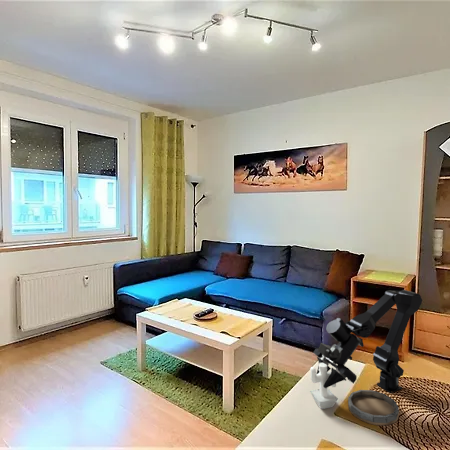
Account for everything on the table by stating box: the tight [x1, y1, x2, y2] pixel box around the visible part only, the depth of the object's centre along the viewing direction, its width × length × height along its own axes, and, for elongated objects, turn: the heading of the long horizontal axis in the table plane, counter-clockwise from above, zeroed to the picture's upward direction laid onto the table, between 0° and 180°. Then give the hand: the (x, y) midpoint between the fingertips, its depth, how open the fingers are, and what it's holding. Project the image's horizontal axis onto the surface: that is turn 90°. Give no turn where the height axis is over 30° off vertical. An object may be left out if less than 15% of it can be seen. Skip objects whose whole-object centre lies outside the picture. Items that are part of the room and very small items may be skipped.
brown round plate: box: [348, 396, 400, 426], centre depth 115 cm, size 16×16×1 cm
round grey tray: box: [347, 389, 400, 423], centre depth 115 cm, size 16×16×2 cm
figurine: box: [309, 362, 339, 410], centre depth 119 cm, size 7×9×15 cm
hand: (320, 383), depth 118 cm, fingers open, 5 cm apart
